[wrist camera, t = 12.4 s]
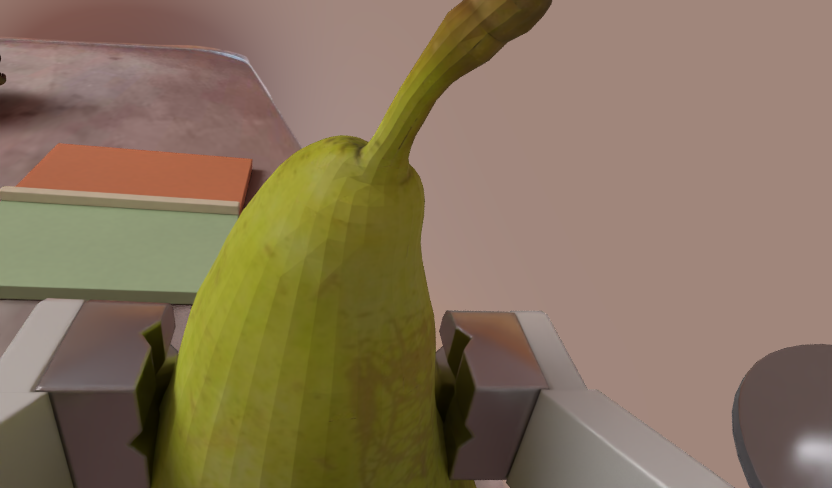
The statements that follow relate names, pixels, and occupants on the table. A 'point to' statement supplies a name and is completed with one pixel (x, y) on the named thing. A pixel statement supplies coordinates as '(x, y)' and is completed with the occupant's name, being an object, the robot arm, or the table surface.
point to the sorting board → (118, 224)
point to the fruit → (327, 308)
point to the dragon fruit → (2, 77)
